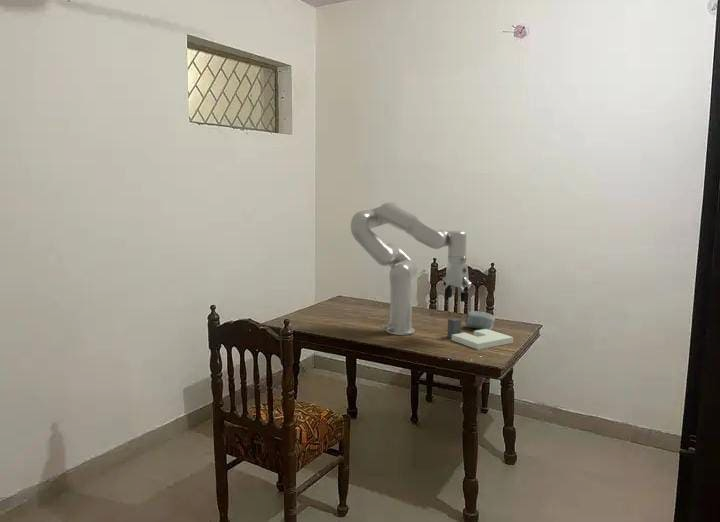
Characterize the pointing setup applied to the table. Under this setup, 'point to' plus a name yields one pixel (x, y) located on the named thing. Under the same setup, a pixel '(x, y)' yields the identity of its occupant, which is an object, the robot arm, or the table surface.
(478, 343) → the board
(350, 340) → the table surface
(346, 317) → the table surface
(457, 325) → the gray rectangular block
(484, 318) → the streaked blue-grey ovoid
